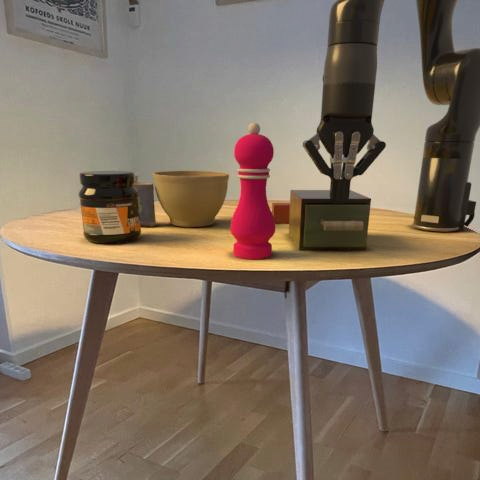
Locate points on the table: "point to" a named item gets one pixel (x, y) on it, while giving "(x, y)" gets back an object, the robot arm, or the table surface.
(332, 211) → the drawer
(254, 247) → the pepper mill
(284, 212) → the block
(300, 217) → the cabinet
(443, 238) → the table surface
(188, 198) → the planter bowl
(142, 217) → the flask
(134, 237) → the supplement container
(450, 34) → the robot arm
